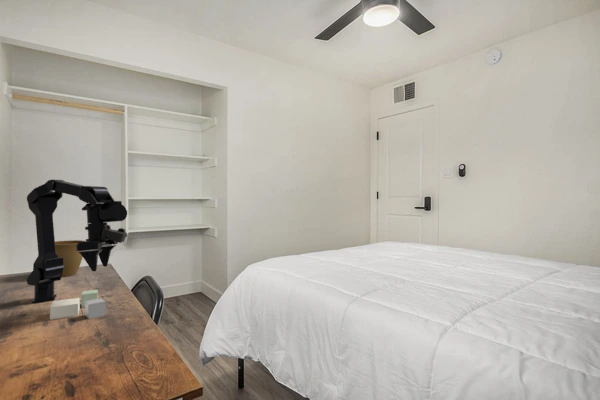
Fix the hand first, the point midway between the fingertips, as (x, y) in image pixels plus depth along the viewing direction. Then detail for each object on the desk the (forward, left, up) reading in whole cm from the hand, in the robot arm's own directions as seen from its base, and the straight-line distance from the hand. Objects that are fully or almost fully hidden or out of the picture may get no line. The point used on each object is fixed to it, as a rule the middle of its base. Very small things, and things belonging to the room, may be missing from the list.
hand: (100, 268), depth 110 cm
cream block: (+3, -9, -13) cm, 16 cm away
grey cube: (+9, -1, -13) cm, 16 cm away
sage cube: (-4, -3, -13) cm, 14 cm away
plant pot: (-61, -15, -13) cm, 64 cm away
